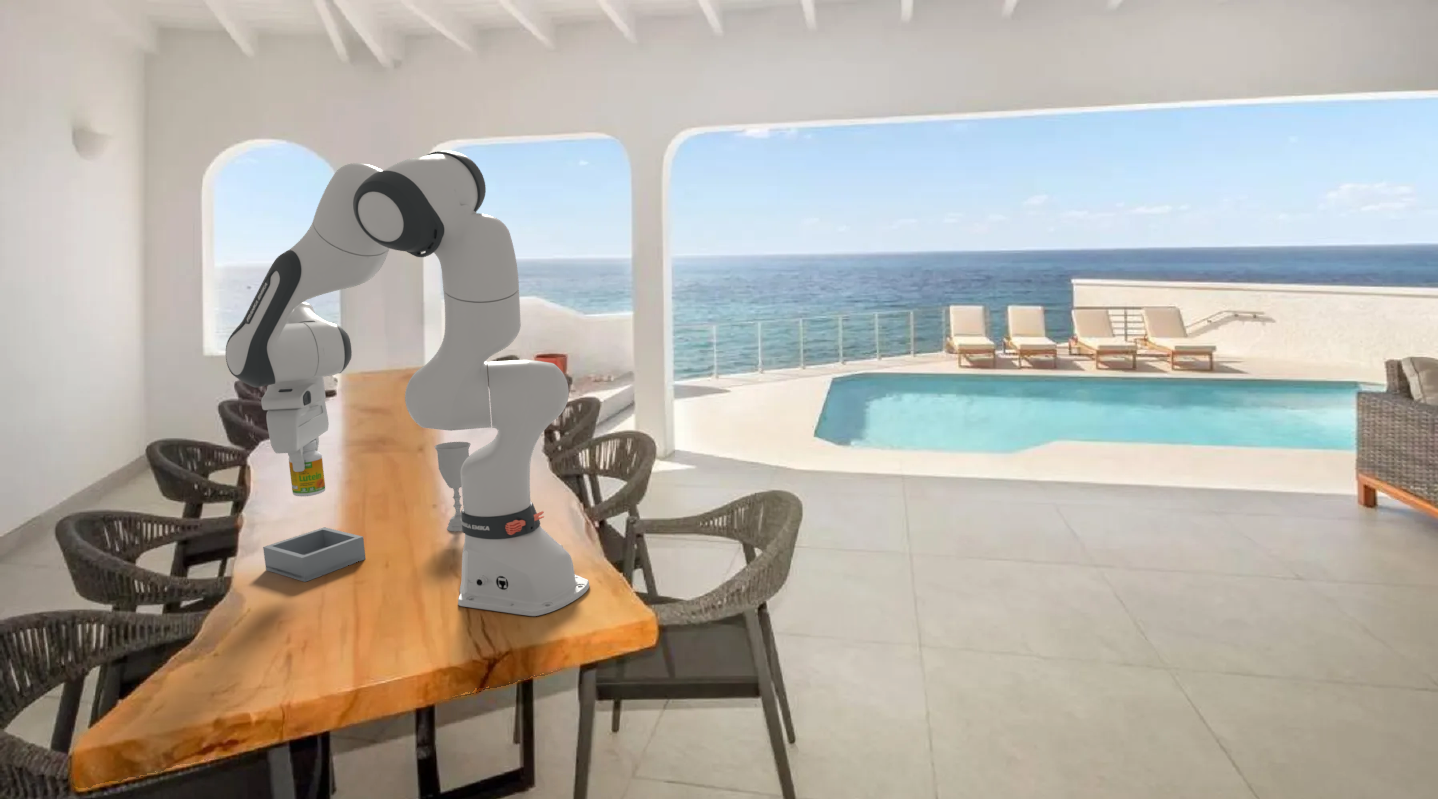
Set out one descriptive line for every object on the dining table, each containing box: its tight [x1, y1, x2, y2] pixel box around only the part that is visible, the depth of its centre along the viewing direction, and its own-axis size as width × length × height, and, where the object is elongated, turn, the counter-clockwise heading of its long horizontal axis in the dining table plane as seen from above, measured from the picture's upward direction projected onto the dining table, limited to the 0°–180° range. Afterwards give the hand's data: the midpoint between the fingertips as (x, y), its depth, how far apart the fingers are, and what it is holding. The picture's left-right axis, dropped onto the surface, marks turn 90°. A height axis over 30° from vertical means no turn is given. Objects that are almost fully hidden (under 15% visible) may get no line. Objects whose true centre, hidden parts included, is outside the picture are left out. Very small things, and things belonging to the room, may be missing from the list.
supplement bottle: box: [288, 440, 326, 497], centre depth 138 cm, size 5×5×10 cm
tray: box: [262, 527, 366, 583], centre depth 141 cm, size 12×12×4 cm
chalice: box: [434, 441, 471, 532], centre depth 159 cm, size 7×7×18 cm
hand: (306, 466), depth 138 cm, fingers closed on supplement bottle, 5 cm apart
